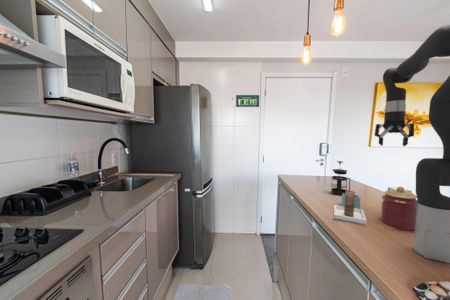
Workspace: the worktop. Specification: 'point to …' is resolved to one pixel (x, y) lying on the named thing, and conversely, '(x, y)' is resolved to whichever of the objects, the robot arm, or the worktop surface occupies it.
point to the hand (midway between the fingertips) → (392, 145)
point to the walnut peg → (349, 203)
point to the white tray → (357, 217)
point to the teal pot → (356, 201)
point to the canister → (399, 209)
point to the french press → (339, 182)
